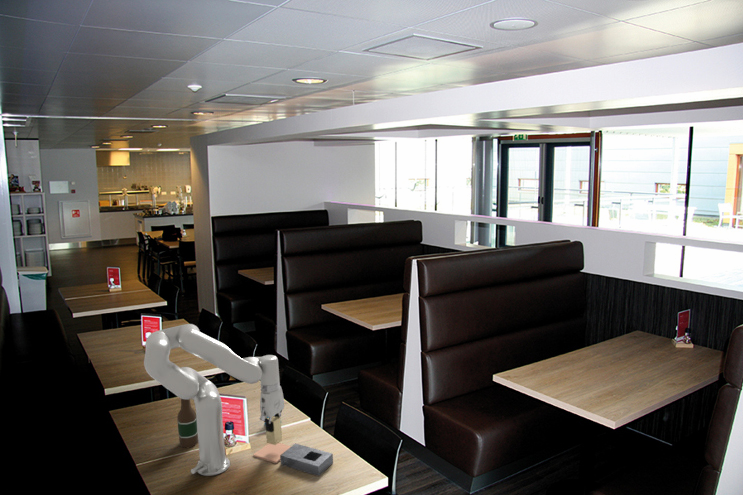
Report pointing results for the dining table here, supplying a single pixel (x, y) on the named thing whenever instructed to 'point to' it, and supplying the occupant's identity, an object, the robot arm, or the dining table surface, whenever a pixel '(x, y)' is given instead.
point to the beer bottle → (187, 425)
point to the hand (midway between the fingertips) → (273, 428)
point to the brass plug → (274, 431)
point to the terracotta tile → (272, 452)
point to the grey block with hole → (306, 459)
